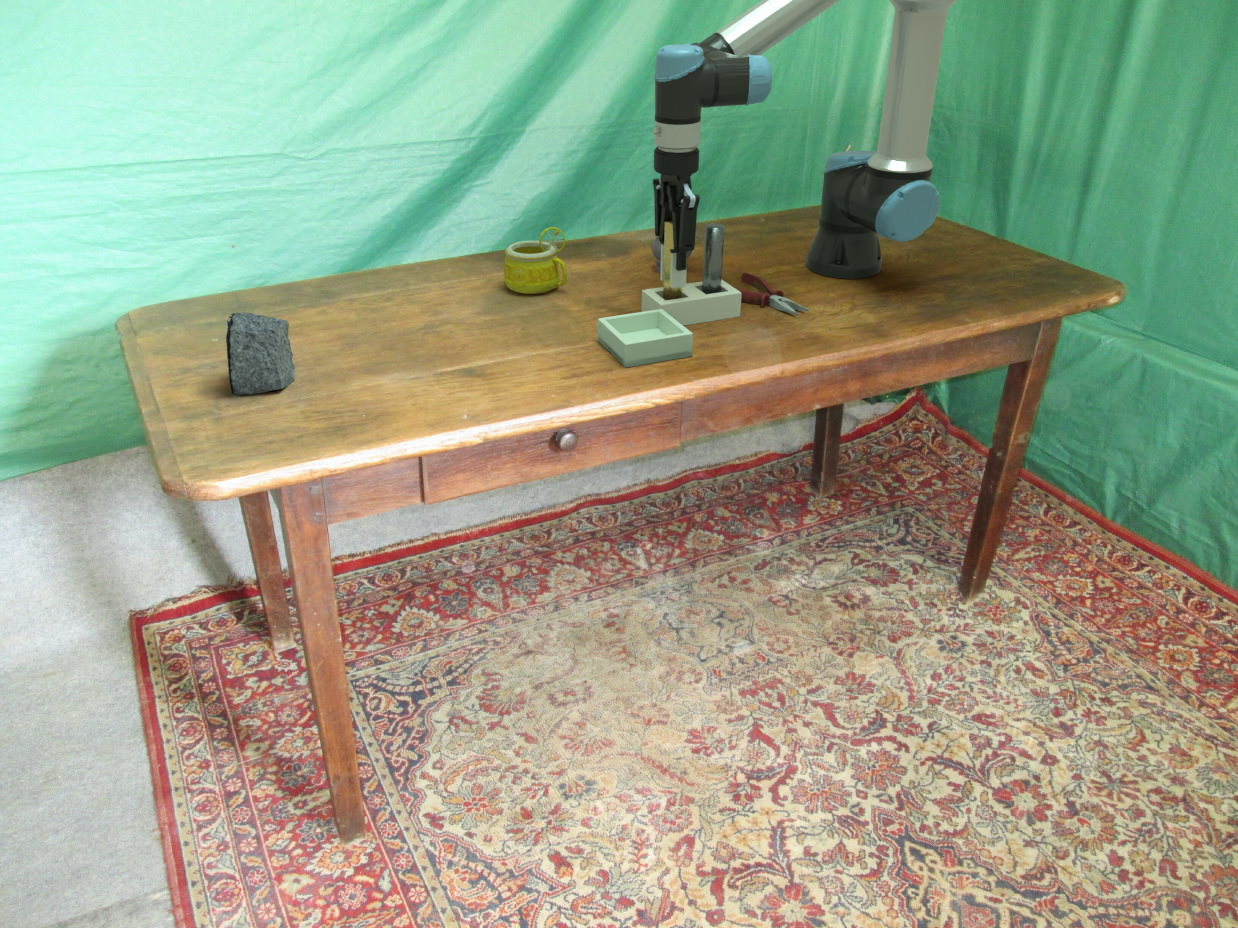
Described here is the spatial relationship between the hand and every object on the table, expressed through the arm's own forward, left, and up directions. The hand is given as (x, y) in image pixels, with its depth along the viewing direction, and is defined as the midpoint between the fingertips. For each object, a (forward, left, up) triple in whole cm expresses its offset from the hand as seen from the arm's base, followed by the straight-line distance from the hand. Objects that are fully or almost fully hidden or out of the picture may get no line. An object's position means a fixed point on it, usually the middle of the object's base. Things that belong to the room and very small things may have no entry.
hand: (673, 282), depth 174 cm
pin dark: (-8, 0, -7) cm, 10 cm away
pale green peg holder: (-4, 0, -7) cm, 8 cm away
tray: (+10, +10, -7) cm, 16 cm away
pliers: (-18, -2, -7) cm, 20 cm away
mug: (+18, -24, -7) cm, 30 cm away
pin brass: (0, 0, -5) cm, 5 cm away
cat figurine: (-11, -24, -7) cm, 27 cm away
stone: (+70, +1, -7) cm, 71 cm away
